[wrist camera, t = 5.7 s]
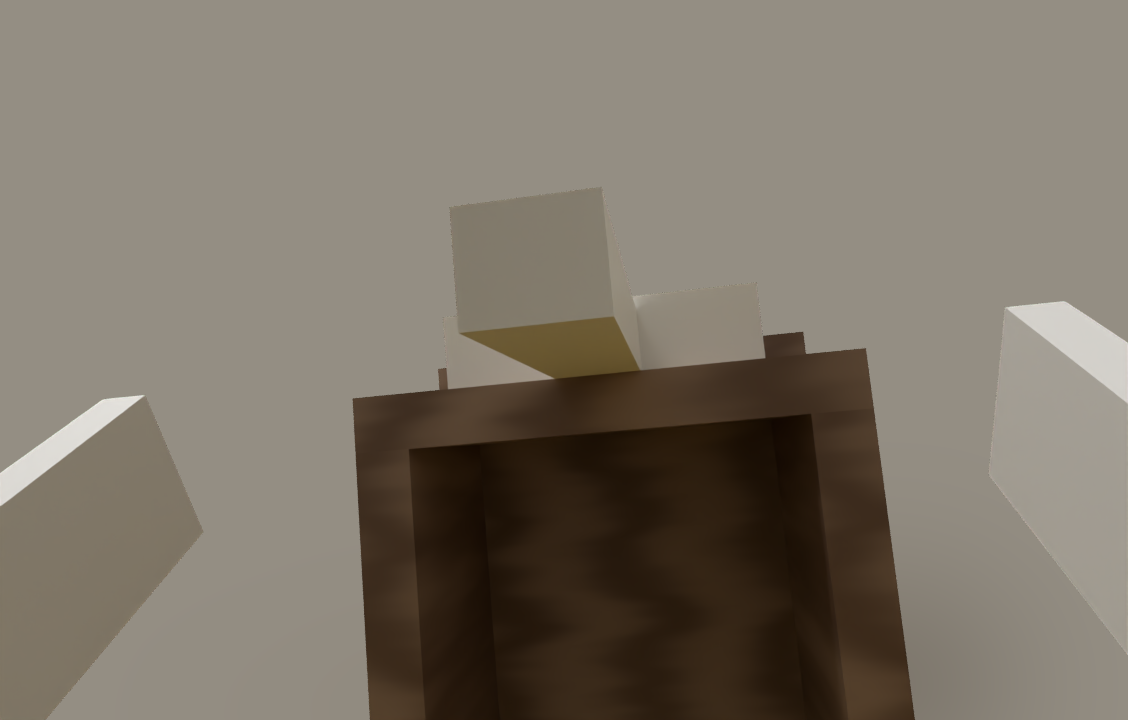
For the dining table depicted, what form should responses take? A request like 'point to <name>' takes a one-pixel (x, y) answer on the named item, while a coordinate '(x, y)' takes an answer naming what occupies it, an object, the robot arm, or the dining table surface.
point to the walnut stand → (633, 546)
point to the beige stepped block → (574, 300)
